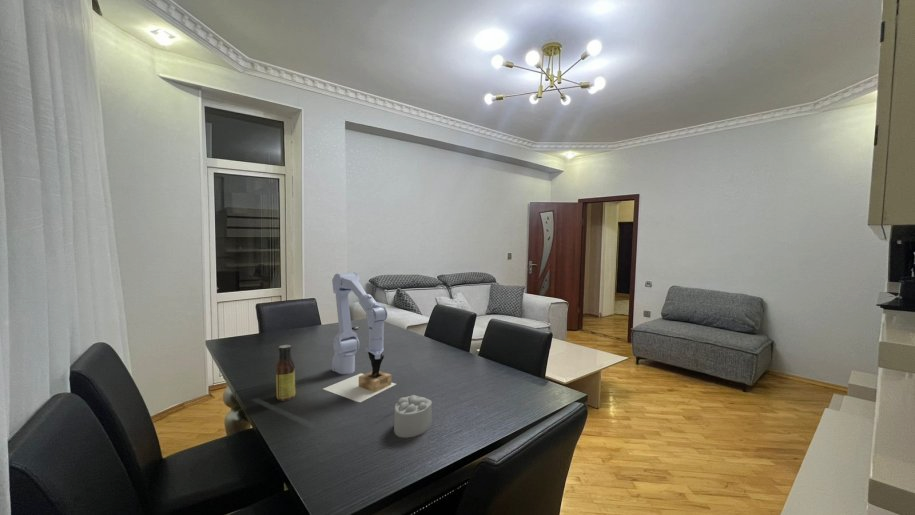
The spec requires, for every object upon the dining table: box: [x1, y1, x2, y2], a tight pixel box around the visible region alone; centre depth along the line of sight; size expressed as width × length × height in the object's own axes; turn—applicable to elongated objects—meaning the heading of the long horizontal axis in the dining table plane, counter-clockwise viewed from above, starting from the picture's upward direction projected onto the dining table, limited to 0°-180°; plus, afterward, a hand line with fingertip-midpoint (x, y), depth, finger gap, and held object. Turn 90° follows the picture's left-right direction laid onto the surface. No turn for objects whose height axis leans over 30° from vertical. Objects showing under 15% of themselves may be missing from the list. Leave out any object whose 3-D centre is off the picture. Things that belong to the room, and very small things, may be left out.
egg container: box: [393, 394, 433, 438], centre depth 115 cm, size 10×13×9 cm
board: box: [322, 373, 397, 403], centre depth 142 cm, size 20×20×1 cm
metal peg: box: [371, 369, 379, 378], centre depth 143 cm, size 3×3×8 cm
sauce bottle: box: [275, 344, 296, 402], centre depth 131 cm, size 7×6×20 cm
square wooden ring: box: [359, 370, 392, 392], centre depth 144 cm, size 9×9×4 cm
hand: (375, 371), depth 143 cm, fingers closed on metal peg, 3 cm apart
